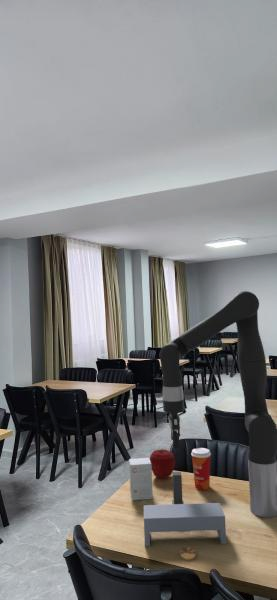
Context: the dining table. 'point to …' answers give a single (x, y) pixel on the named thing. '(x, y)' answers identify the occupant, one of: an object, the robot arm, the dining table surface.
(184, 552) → the token
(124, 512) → the dining table surface
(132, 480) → the small box
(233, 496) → the dining table surface
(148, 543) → the shelf
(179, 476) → the grey l-shaped bracket
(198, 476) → the paper cup
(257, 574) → the dining table surface
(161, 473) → the apple
